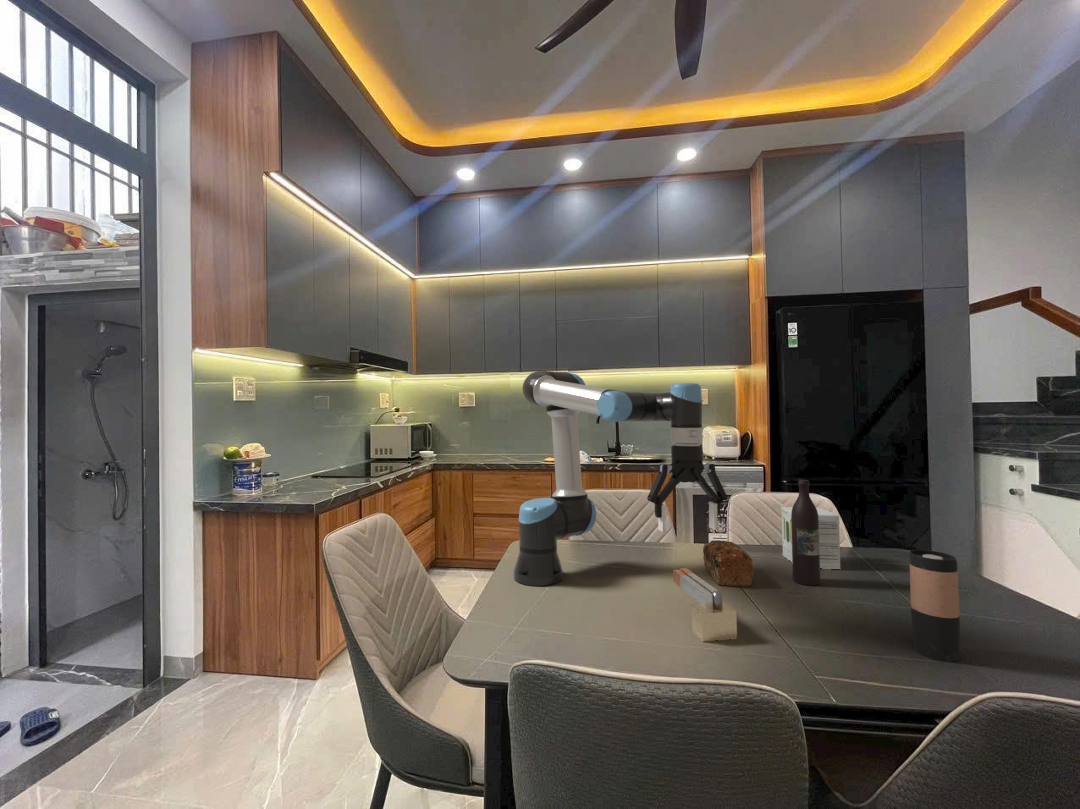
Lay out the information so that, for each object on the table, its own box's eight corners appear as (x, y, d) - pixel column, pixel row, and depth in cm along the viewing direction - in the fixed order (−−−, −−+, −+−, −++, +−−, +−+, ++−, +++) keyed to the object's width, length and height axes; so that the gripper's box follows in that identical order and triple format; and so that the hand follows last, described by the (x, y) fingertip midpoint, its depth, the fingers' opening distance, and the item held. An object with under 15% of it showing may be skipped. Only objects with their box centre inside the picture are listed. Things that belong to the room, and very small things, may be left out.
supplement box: (781, 556, 159) (780, 506, 160) (821, 557, 158) (820, 507, 158) (797, 568, 146) (796, 514, 147) (841, 570, 145) (840, 515, 145)
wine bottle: (794, 584, 132) (791, 481, 133) (791, 576, 139) (788, 478, 140) (822, 587, 130) (819, 482, 131) (817, 579, 136) (815, 479, 137)
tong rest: (665, 605, 118) (665, 570, 118) (694, 603, 119) (694, 568, 119) (702, 641, 99) (701, 599, 99) (736, 639, 100) (736, 597, 100)
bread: (754, 588, 130) (753, 553, 130) (715, 586, 131) (715, 551, 132) (735, 567, 148) (735, 536, 149) (702, 566, 150) (701, 535, 150)
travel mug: (902, 644, 97) (899, 550, 97) (935, 643, 97) (932, 548, 98) (936, 663, 89) (932, 561, 90) (972, 661, 90) (968, 559, 90)
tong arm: (679, 580, 119) (679, 568, 119) (687, 580, 119) (686, 567, 119) (715, 608, 101) (715, 594, 101) (724, 608, 101) (723, 593, 101)
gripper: (644, 446, 109) (645, 535, 108) (741, 445, 112) (742, 531, 111) (634, 444, 116) (634, 527, 116) (724, 443, 120) (726, 524, 119)
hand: (687, 529), depth 114 cm, fingers open, 13 cm apart
